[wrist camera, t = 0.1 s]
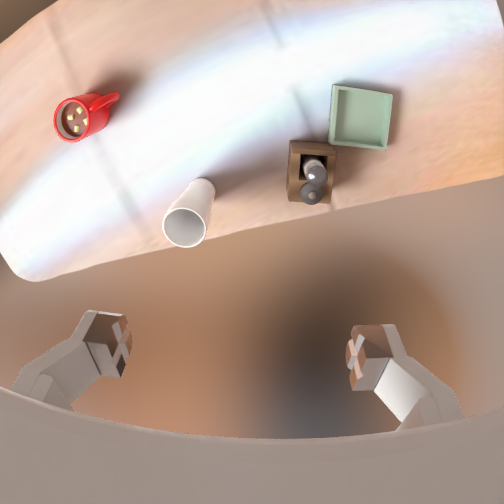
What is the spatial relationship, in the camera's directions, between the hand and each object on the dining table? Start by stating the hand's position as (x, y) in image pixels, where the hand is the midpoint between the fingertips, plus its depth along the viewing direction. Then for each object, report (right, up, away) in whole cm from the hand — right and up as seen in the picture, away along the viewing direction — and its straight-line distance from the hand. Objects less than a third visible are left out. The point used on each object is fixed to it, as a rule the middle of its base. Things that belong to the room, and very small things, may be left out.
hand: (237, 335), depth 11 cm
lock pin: (+10, +19, +44) cm, 49 cm away
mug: (-27, +30, +39) cm, 56 cm away
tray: (+19, +26, +39) cm, 51 cm away
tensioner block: (+10, +18, +45) cm, 49 cm away
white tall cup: (-9, +14, +48) cm, 51 cm away
